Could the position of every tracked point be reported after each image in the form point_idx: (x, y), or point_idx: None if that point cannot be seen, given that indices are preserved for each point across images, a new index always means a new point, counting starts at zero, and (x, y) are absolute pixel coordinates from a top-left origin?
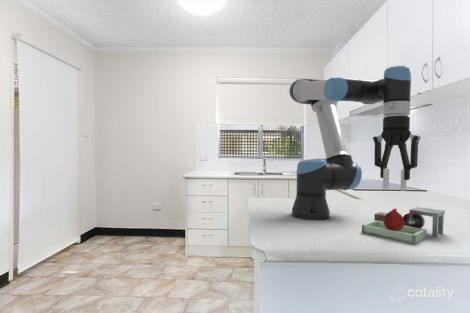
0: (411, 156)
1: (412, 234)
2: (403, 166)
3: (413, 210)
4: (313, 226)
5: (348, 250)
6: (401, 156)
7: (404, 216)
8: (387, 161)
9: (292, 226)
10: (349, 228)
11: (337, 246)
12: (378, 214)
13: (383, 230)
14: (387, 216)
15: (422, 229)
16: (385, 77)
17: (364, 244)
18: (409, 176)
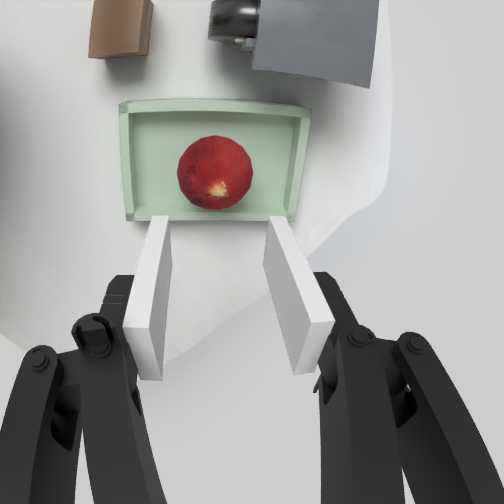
0: (405, 457)
1: (286, 214)
2: (319, 394)
3: (272, 70)
4: (29, 256)
5: (195, 343)
6: (324, 481)
7: (217, 35)
8: (135, 418)
9: (18, 292)
10: (82, 193)
11: (169, 339)
12: (105, 54)
13: (199, 218)
14: (198, 205)
15: (300, 116)
16: None
17: (196, 298)
18: (337, 298)
